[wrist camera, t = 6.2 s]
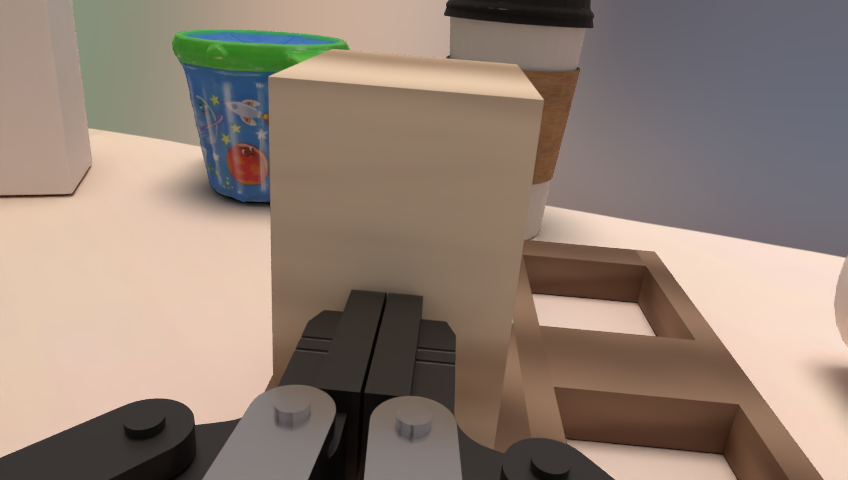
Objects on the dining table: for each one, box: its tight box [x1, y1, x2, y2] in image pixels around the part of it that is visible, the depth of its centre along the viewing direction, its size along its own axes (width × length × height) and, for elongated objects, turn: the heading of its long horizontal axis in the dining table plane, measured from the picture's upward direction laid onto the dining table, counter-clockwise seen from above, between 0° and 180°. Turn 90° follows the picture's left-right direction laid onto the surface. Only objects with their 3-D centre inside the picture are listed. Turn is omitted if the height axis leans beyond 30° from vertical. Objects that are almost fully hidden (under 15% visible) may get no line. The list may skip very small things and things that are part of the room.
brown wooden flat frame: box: [265, 240, 823, 480], centre depth 23 cm, size 22×16×2 cm
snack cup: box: [172, 30, 349, 202], centre depth 42 cm, size 16×10×10 cm
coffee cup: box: [444, 0, 594, 240], centre depth 37 cm, size 8×8×15 cm
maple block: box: [268, 49, 544, 450], centre depth 16 cm, size 6×5×10 cm
